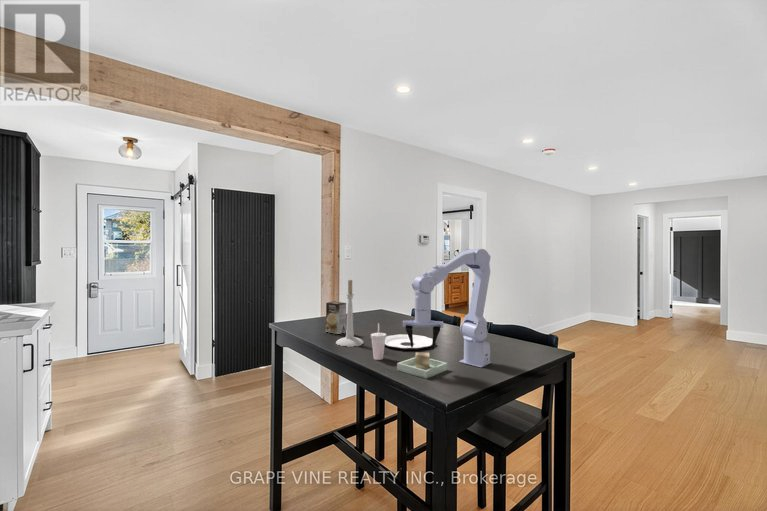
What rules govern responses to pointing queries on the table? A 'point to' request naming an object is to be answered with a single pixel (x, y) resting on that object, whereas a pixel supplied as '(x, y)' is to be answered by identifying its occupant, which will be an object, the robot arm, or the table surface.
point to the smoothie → (378, 344)
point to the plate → (418, 341)
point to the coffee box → (336, 317)
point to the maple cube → (422, 360)
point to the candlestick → (349, 324)
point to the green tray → (434, 369)
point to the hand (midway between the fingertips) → (422, 346)
